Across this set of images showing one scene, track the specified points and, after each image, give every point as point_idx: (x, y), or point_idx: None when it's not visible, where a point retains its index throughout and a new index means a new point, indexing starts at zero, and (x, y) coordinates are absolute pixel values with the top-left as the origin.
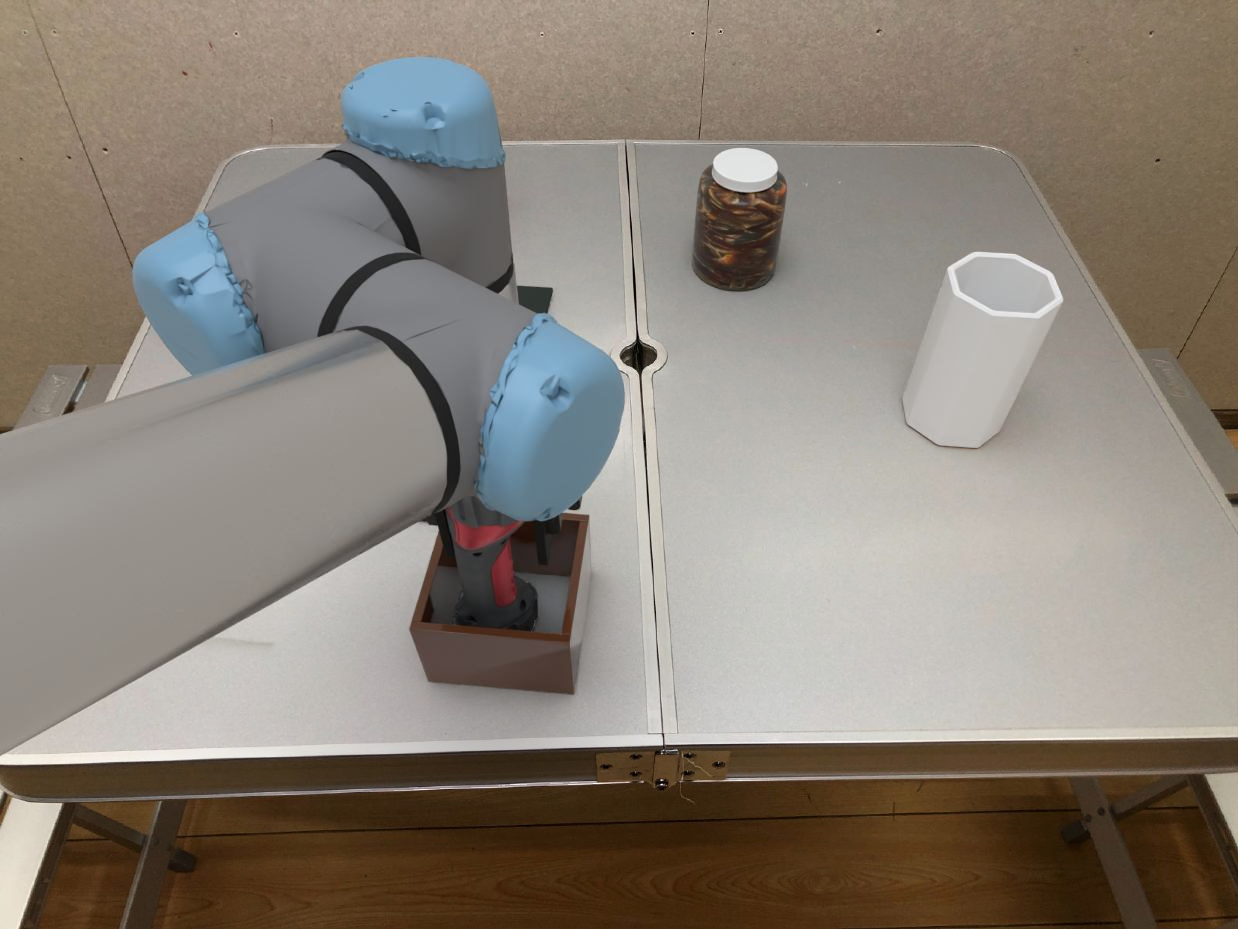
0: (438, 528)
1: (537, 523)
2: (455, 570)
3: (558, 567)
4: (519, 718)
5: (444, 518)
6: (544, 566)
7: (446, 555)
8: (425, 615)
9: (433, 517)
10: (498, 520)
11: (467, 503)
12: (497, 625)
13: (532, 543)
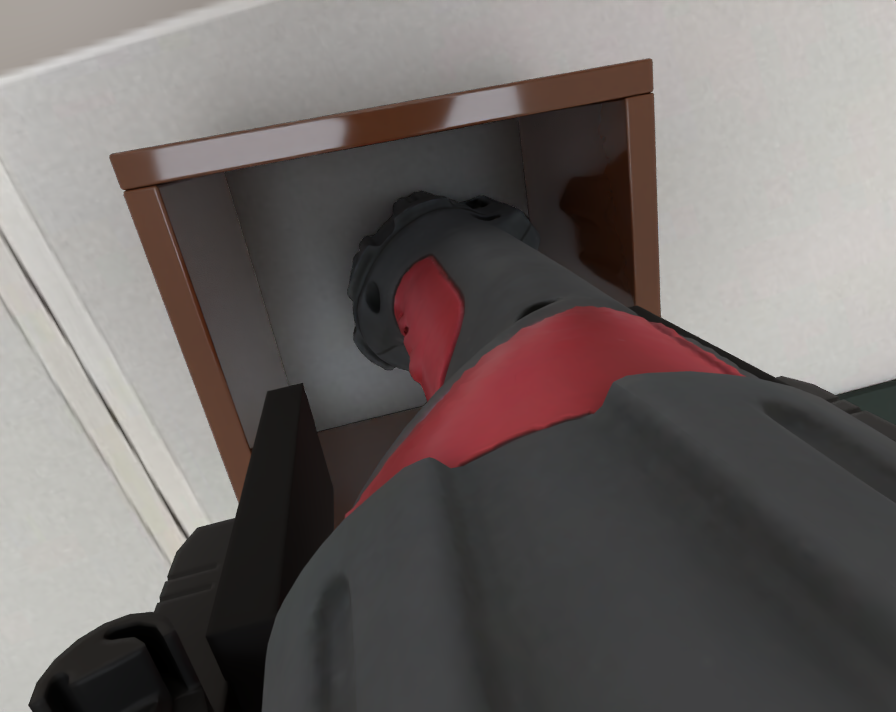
0: (753, 366)
1: (257, 562)
2: None
3: (356, 436)
4: (296, 53)
5: None
6: (387, 428)
7: (640, 309)
8: (615, 139)
9: None
10: (465, 505)
11: None
12: (416, 223)
13: None
